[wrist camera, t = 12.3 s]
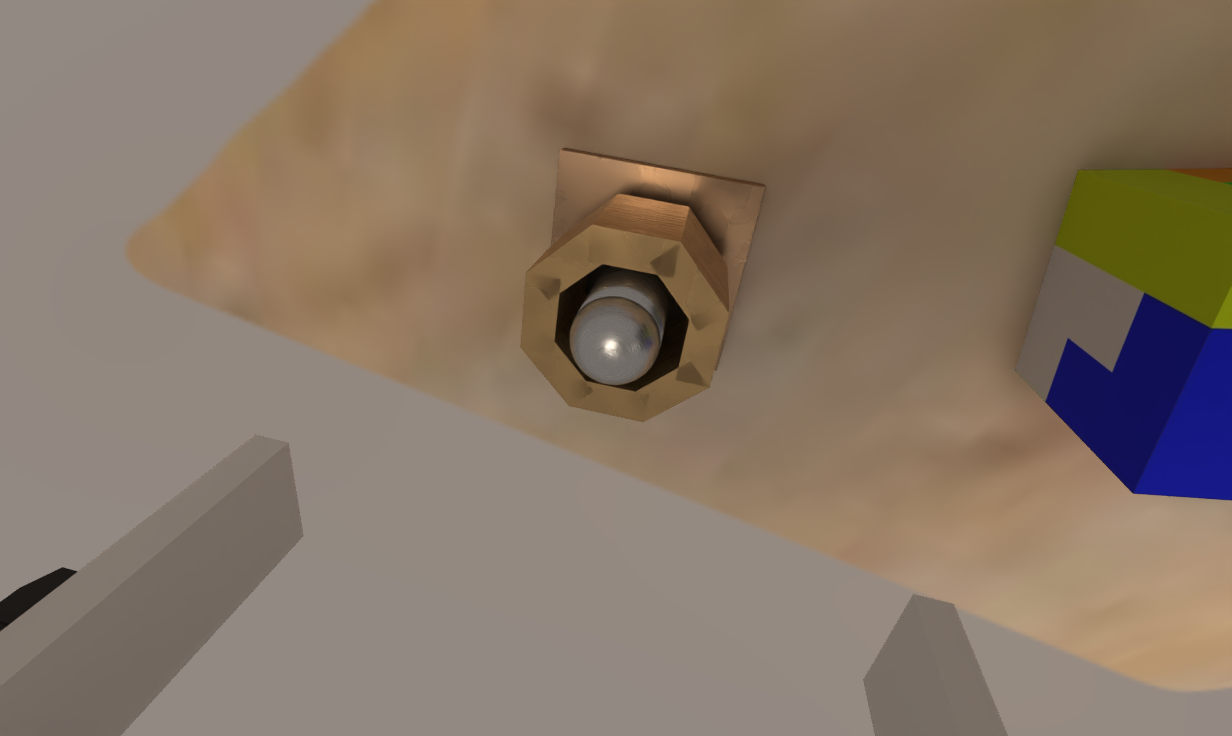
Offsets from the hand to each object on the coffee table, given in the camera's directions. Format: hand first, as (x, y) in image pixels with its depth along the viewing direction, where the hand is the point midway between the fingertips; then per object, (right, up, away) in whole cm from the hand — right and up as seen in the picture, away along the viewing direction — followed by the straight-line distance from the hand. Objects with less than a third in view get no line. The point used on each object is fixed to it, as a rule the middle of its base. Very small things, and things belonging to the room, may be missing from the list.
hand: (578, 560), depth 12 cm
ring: (+2, +8, +16) cm, 18 cm away
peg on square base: (+2, +10, +18) cm, 21 cm away
